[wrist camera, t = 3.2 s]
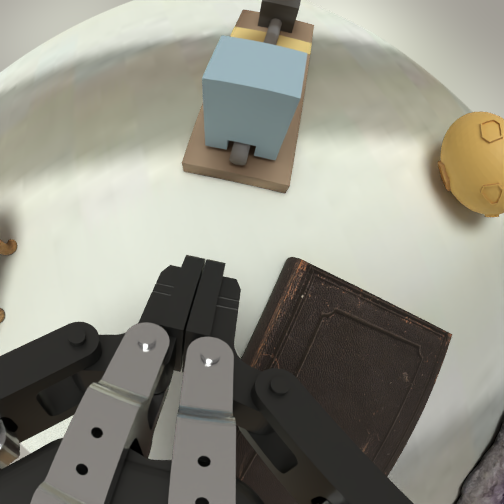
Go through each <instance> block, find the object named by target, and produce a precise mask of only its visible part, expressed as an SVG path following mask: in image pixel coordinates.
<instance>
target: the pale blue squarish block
mask: <svg viewBox="0 0 504 504" xmlns="http://www.w3.org/2000/svg"><path fill="white" fill-rule="evenodd" d="M306 60H307V53H305V52H301V51H297V50H294V49H290V48H286V47H281V46H277V45H273V44H268V43H263V42H258V41H253V40H248V39H242V38H236V37H229V36H221V38H220V40H219V42H218V44H217V46H216V48H215V51H214V53H213V55H212V57H211V59H210V62H209V64H208V66H207V68H206V71H205V73H204V75H203V78H202V86H203V110H204V131H205V146H210V147H215V148H221V149H226V150H227V147H228V143H229V140H230V141H235V142H240V143H244V144H249V145H253V146H256V148H255V153H254V156H258V157H262V158H267V159H271V160H276V158H277V155H278V153H279V150H280V148H281V145H282V143H283V140H284V138H285V135H286V133H287V131H288V128H289V126H290V123H291V121H292V118H293V116H294V113H295V111H296V108H297V106H298V103H299V101H300V98H301V92H302V86H303V79H304V73H305V66H306Z"/></svg>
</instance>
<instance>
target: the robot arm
mask: <svg viewBox="0 0 504 504" xmlns="http://www.w3.org/2000/svg"><path fill="white" fill-rule="evenodd" d="M224 268H225V263H222V262H218V261H213V260H208V259H207V260H206V263H205V259H203V258H199V257H194V256H189V255H186V257H185V259H184V262H183V264H182V267H177V266H172V265H170V266H168V267H167V268H166V269H165V270H163V271H162V272H161V274H160V276H159V278H158V280H157V283H156V284H155V287H154V289H153V292H152V293H151V295H150V298H149V300H148V302H147V305H146V307H145V309H144V311H143V314H142V316H141V318H140V321H139V323H138V324H136V325H134V326H132V327H131V328H129V329H128V331H127V332H126V333H124V334H119V335H98V332H97V330H96V329H95V328H94V327H93V326H92V325H90V324H88V323H85V322H74V323H70V324H68V325H66V326H64V327H61V328H59V329H57V330H55V331H53V332H51V333H49V334H46V335H44V336H42V337H40V338H38V339H36V340H34V341H31V342H29V343H27V344H25V345H23V346H21V347H19V348H17V349H14V350H12V351H10V352H8V353H6V354H4V355H2V356H0V504H265V503H264V502H263V501H262V499H261V498H260V497H259V496H258V494H257V493H256V492H255V491H254V490H253V489H252V488H251V487H249V486H248V485H247V484H246V483H244V482H243V481H241V480H239V479H238V478H236V425H237V426H238V427H239V429H240V431H241V432H242V434H243V435H244V436H245V438H246V439H247V440H248V442H249V443H250V444H251V446H252V447H253V448H254V450H255V451H256V452H257V454H258V455H259V456H260V458H261V459H262V460H263V461H264V463H265V464H266V465H267V466H268V468H269V469H270V470H271V471H272V473H273V474H274V475H275V476H276V478H277V479H278V480H279V481H280V482H281V484H282V485H283V486H284V487H285V488H286V489H287V491H288V492H289V493H290V494H291V495H292V496H293V498H294V499H295V500H296V501H297V502H298V503H299V504H413V503H412V502H411V501H410V500H409V499H408V498H407V497H406V496H405V495H404V494H403V493H402V492H401V491H400V490H399V489H398V488H397V487H396V486H395V485H394V484H393V483H392V482H391V481H390V480H389V479H388V478H387V477H386V476H385V475H384V473H383V472H382V471H381V470H380V469H379V468H378V467H377V466H376V465H375V464H374V463H373V462H372V461H371V460H370V459H369V458H368V457H367V456H366V455H365V454H364V453H363V451H362V450H361V449H360V448H359V447H358V446H357V445H356V444H355V443H354V442H353V441H352V440H351V439H350V438H349V436H348V435H347V434H346V433H345V432H344V431H343V430H342V429H341V428H340V427H339V425H338V424H337V423H336V422H335V421H334V420H333V419H332V418H331V417H330V416H329V414H328V413H327V412H326V411H325V410H324V409H323V408H322V407H321V405H320V404H319V403H318V402H317V401H316V400H315V399H314V397H313V396H312V395H311V394H310V393H309V392H308V391H307V389H306V388H305V387H304V386H303V385H302V384H301V383H300V381H299V380H298V379H297V378H296V377H295V376H294V375H293V374H292V373H290V372H288V371H286V370H284V369H280V368H271V369H267V370H264V371H263V372H262V371H260V370H258V369H255V368H253V367H251V366H249V365H247V364H246V363H244V362H243V361H242V360H241V359H240V358H239V357H238V355H237V354H236V352H235V349H234V338H235V330H236V322H237V314H238V307H239V299H240V291H241V289H240V287H239V284H238V282H237V280H236V279H233V278H228V277H223V272H224ZM182 363H183V369H182V372H184V375H183V382H182V389H181V396H180V404H179V410H178V414H177V421H176V429H175V438H174V446H173V456H172V460H151V459H148V456H149V453H150V449H151V445H152V438H153V433H154V430H155V427H156V424H157V421H158V418H159V415H160V412H161V410H162V407H163V404H164V401H165V398H166V395H167V392H168V389H169V385H170V382H171V378H172V374H173V371H174V370H175V371H179V372H180V371H181V367H182ZM72 415H74V416H73V418H72V420H71V422H70V425H69V427H68V429H67V431H66V433H65V435H64V438H60V439H57V440H55V441H52V442H50V443H48V444H47V445H45V446H43V447H41V448H40V449H38V450H36V451H34V452H33V453H31V454H29V455H27V456H25V457H24V458H22V459H20V460H18V461H16V462H15V463H12V462H13V461H14V460H15V459H17V458H18V457H19V455H20V442H22V441H24V440H26V439H28V438H30V437H32V436H34V435H36V434H38V433H40V432H42V431H44V430H46V429H48V428H50V427H52V426H54V425H55V424H57V423H59V422H61V421H63V420H65V419H67V418H69V417H71V416H72ZM10 463H12V464H11V465H9V464H10ZM8 465H9V466H8Z"/></svg>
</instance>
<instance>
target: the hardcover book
mask: <svg viewBox="0 0 504 504" xmlns="http://www.w3.org/2000/svg"><path fill="white" fill-rule="evenodd" d="M451 337H452V334H450V333H448V332H447V331H445V330H443V329H441V328H439V327H437V326H435V325H433V324H431V323H429V322H427V321H425V320H423V319H421V318H419V317H417V316H415V315H413V314H411V313H409V312H407V311H405V310H403V309H401V308H399V307H397V306H395V305H393V304H391V303H389V302H387V301H385V300H383V299H381V298H379V297H377V296H375V295H373V294H371V293H369V292H367V291H365V290H363V289H361V288H359V287H357V286H355V285H353V284H351V283H349V282H347V281H345V280H343V279H341V278H338V277H336V276H334V275H332V274H330V273H328V272H326V271H324V270H322V269H320V268H318V267H316V266H314V265H312V264H310V263H308V262H306V261H304V260H302V259H299V258H295V257H290V258H288V259H287V260H286V262H285V264H284V267H283V269H282V271H281V274H280V276H279V278H278V280H277V283H276V285H275V287H274V289H273V291H272V294H271V296H270V298H269V300H268V303H267V305H266V307H265V309H264V311H263V314H262V316H261V318H260V320H259V322H258V324H257V327H256V329H255V331H254V333H253V335H252V337H251V340H250V342H249V344H248V346H247V348H246V350H245V352H244V354H243V356H242V359H241V360H242V361H243V362H244V363H246V364H247V365H249V366H251V367H253V368H255V369H258V370H260V371H262V372H263V371H264V370H267V369H271V368H280V369H284V370H286V371H288V372H290V373H292V374H293V375H294V376H295V377H296V378H297V379H298V380H299V381H300V383H301V384H302V385H303V386H304V387H305V388H306V389H307V391H308V392H309V393H310V394H311V395H312V396H313V397H314V399H315V400H316V401H317V402H318V403H319V404H320V405H321V407H322V408H323V409H324V410H325V411H326V412H327V413H328V414H329V416H330V417H331V418H332V419H333V420H334V421H335V422H336V423H337V424H338V425H339V427H340V428H341V429H342V430H343V431H344V432H345V433H346V434H347V435H348V436H349V438H350V439H351V440H352V441H353V442H354V443H355V444H356V445H357V446H358V447H359V448H360V449H361V450H362V451H363V453H364V454H365V455H366V456H367V457H368V458H369V459H370V460H371V461H372V462H373V463H374V464H375V465H376V466H377V467H378V468H379V469H380V470H381V471H382V472H383V473H384V475H385V476H386V477H387V476H388V474H389V473H390V471H391V470H392V468H393V466H394V465H395V463H396V461H397V459H398V458H399V456H400V454H401V453H402V451H403V449H404V447H405V445H406V443H407V442H408V440H409V438H410V436H411V434H412V432H413V430H414V428H415V426H416V424H417V422H418V420H419V418H420V416H421V414H422V412H423V409H424V407H425V405H426V403H427V401H428V398H429V396H430V394H431V391H432V389H433V386H434V384H435V382H436V379H437V376H438V374H439V371H440V369H441V366H442V363H443V360H444V358H445V355H446V352H447V349H448V346H449V343H450V340H451ZM236 478H238V479H239V480H241V481H243V482H244V483H246V484H247V485H248V486H249V487H251V488H252V489H253V490H254V491H255V492H256V493H257V494H258V496H259V497H260V498H261V499H262V501H263V502H264V503H265V504H299V503H298V502H297V501H296V500H295V499H294V498H293V496H292V495H291V494H290V493H289V492H288V491H287V489H286V488H285V487H284V486H283V485H282V484H281V482H280V481H279V480H278V479H277V478H276V476H275V475H274V474H273V473H272V471H271V470H270V469H269V468H268V466H267V465H266V464H265V463H264V461H263V460H262V459H261V458H260V456H259V455H258V454H257V452H256V451H255V450H254V448H253V447H252V446H251V444H250V443H249V442H248V440H247V439H246V438H245V436H244V435H243V434H242V432H241V431H240V429H239V427H238V426H237V425H236Z"/></svg>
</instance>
